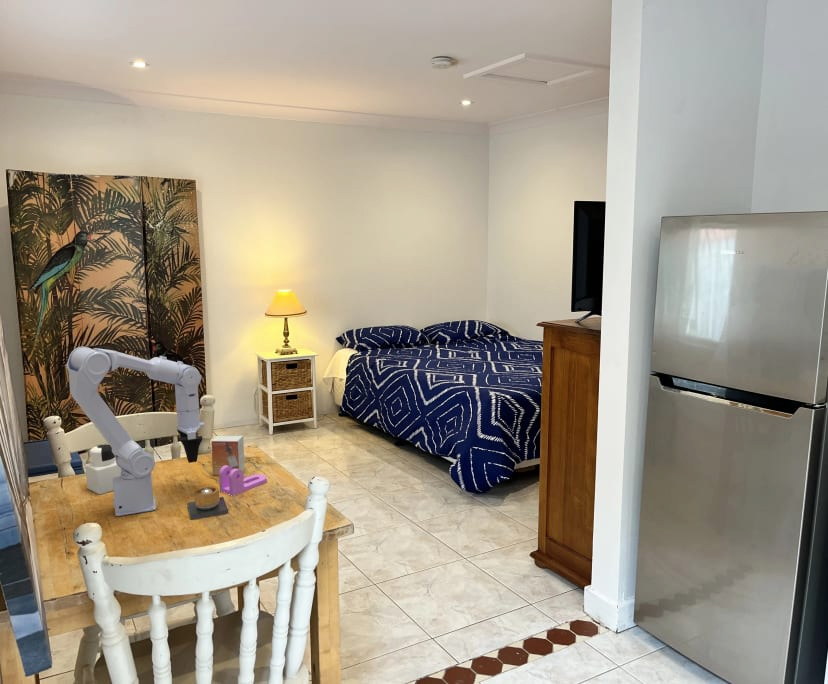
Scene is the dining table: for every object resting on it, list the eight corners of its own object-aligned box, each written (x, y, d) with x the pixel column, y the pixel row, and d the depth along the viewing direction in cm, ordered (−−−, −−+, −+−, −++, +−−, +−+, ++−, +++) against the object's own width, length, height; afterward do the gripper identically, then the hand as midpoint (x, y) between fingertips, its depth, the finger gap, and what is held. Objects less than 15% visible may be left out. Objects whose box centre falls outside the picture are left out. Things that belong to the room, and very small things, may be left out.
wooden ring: (196, 508, 167) (195, 496, 167) (194, 499, 173) (193, 488, 172) (220, 503, 170) (220, 492, 169) (217, 495, 175) (216, 484, 174)
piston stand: (190, 519, 166) (189, 498, 165) (187, 506, 174) (186, 485, 173) (228, 513, 169) (227, 492, 168) (223, 500, 177) (222, 480, 176)
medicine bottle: (112, 481, 191) (108, 440, 189) (124, 487, 187) (121, 445, 185) (87, 489, 186) (82, 447, 184) (99, 495, 182) (95, 452, 180)
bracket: (233, 496, 180) (231, 472, 179) (220, 492, 183) (218, 467, 182) (270, 482, 190) (269, 458, 189) (257, 477, 194) (256, 454, 192)
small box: (212, 475, 195) (210, 440, 193) (218, 468, 200) (216, 434, 199) (239, 476, 195) (237, 441, 193) (245, 469, 200) (243, 435, 198)
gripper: (206, 413, 175) (209, 463, 178) (200, 400, 188) (203, 447, 191) (177, 417, 173) (181, 467, 175) (173, 403, 186) (177, 451, 188)
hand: (191, 457), depth 183 cm, fingers open, 7 cm apart
